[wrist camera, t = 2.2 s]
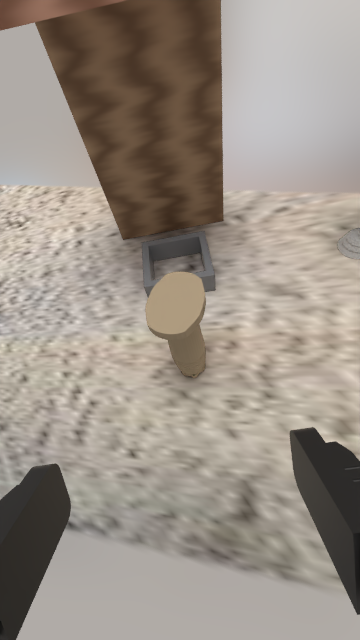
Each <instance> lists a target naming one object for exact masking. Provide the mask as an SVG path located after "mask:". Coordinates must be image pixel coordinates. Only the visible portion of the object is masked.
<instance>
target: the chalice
mask: <svg viewBox="0 0 360 640" xmlns="http://www.w3.org/2000/svg"><path fill="white" fill-rule="evenodd" d="M337 246H338V249H339V251H340V252H341V253H342V254H343V255H345V256H347V257H349V258H353V259H360V228H356V229H353V230H351V231H349V232H348V233H347V234H346V235H344V237H342V238H340V240H339V241H338V244H337Z"/></svg>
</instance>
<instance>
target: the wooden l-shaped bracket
mask: <svg viewBox="0 0 360 640" xmlns="http://www.w3.org/2000/svg"><path fill="white" fill-rule="evenodd" d="M34 22H35V24H36V26H37V29H38V31H39V33H40V36H41V39H42V41H43V43H44V46H45V49H46V51H47V53H48V56H49V58H50V61H51V63H52V66H53V68H54V71H55V73H56V75H57V78H58V80H59V83H60V85H61V88H62V90H63V93H64V95H65V98H66V100H67V103H68V105H69V108H70V110H71V112H72V115H73V117H74V120H75V122H76V125H77V127H78V130H79V132H80V134H81V137H82V139H83V142H84V144H85V146H86V149H87V152H88V154H89V157H90V159H91V161H92V164H93V166H94V169H95V171H96V174H97V176H98V179H99V181H100V184H101V186H102V189H103V191H104V193H105V196H106V198H107V201H108V203H109V206H110V208H111V211H112V213H113V216H114V218H115V221H116V223H117V225H118V228H119V230H120V233H121V235H122V238H123V240H124V239H129V238H135V237H140V236H145V235H150V234H156V233H161V232H166V231H172V230H177V229H182V228H187V227H193V226H198V225H203V224H209V223H214V222H219V221H223V150H222V73H221V72H222V66H221V0H0V30H4V29H9V28H13V27H17V26H21V25H26V24H29V23H34Z"/></svg>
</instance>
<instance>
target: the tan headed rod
mask: <svg viewBox="0 0 360 640" xmlns="http://www.w3.org/2000/svg"><path fill="white" fill-rule="evenodd" d="M205 305H206V298H205V291H204V287H203V283H202V280H201V278H199V277H198V276H196V275H195V274H192V273H188V272H172V273H169V274H166V275H165V276H164V277H163V278H162V279H161V280H160V281H159V282H158V283H157V284H156V285H155V286H154V287H153V289H152V291H151V293H150V295H149V298H148V300H147V303H146V319H147V325H148V327H149V329H150V331H151V332H152V333H153V334H155V335H156V336H158V337H160V338H162V339H166V340H168V343H169V347H170V351H171V354H172V357H173V359H174V361H175V363H176V365H177V366H178V368H179V369H180V370H181V372H182V374H183V375H185V376H192V377H193V378H196V377H197V376H198V374H199V373H200V372H202V371H204V369H205V359H206V351H205V343H204V339H203V336H202V333H201V329H200V325H199V323H200V322H201V320H202V318H203V315H204V311H205Z"/></svg>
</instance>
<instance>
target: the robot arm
mask: <svg viewBox="0 0 360 640" xmlns="http://www.w3.org/2000/svg"><path fill="white" fill-rule="evenodd" d="M290 443H291V452H292V461H293V470H294V475H295V479H296V483H297V486H298V489H299V491H300V493H301V495H302V498H303V500H304V502H305V504H306V506H307V508H308V510H309V513H310V515H311V517H312V519H313V521H314V523H315V525H316V527H317V530H318V532H319V534H320V536H321V538H322V540H323V542H324V545H325V547H326V549H327V551H328V553H329V555H330V557H331V559H332V562H333V564H334V566H335V568H336V570H337V572H338V574H339V577H340V579H341V581H342V583H343V585H344V587H345V589H346V591H347V594H348V596H349V598H350V600H351V602H352V604H353V606H354V609H355V610H356V613H357V614H360V461H359V460H358V459H357V458H356V456H355V455H354V454H353V453H352V452H351V451H350V450H348V449H347V448H345V447H344V446H342V445H340V444H339V443H337V442H329V443H325V441H324V440H323V438H322V437H321V436H320V434H319V433H318V432H317V430H316V429H315V428H314V427H312V428H305V429H298V430H291V431H290ZM70 510H71V503H70V498H69V495H68V492H67V488H66V485H65V482H64V479H63V476H62V473H61V470H60V467H59V466H58V465H57V464H49V465H42V466H35V467H33V468H31V469H30V471H29V472H28V473H27V475H26V476H25V478H24V479H23V480H22V482H21V483H20V485H17V486H16V487H14V488H13V489H12V490H11V491H10V492H9V493H8V494H7V495H5V496H4V497H3V498H2V499H1V500H0V640H16V638H17V636H18V634H19V631H20V629H21V627H22V624H23V622H24V620H25V618H26V615H27V613H28V611H29V608H30V606H31V604H32V602H33V599H34V597H35V595H36V593H37V590H38V588H39V586H40V583H41V581H42V579H43V577H44V574H45V572H46V570H47V568H48V565H49V563H50V560H51V559H52V556H53V554H54V552H55V550H56V547H57V545H58V543H59V540H60V538H61V536H62V533H63V531H64V529H65V527H66V525H67V522H68V520H69V516H70Z"/></svg>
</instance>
